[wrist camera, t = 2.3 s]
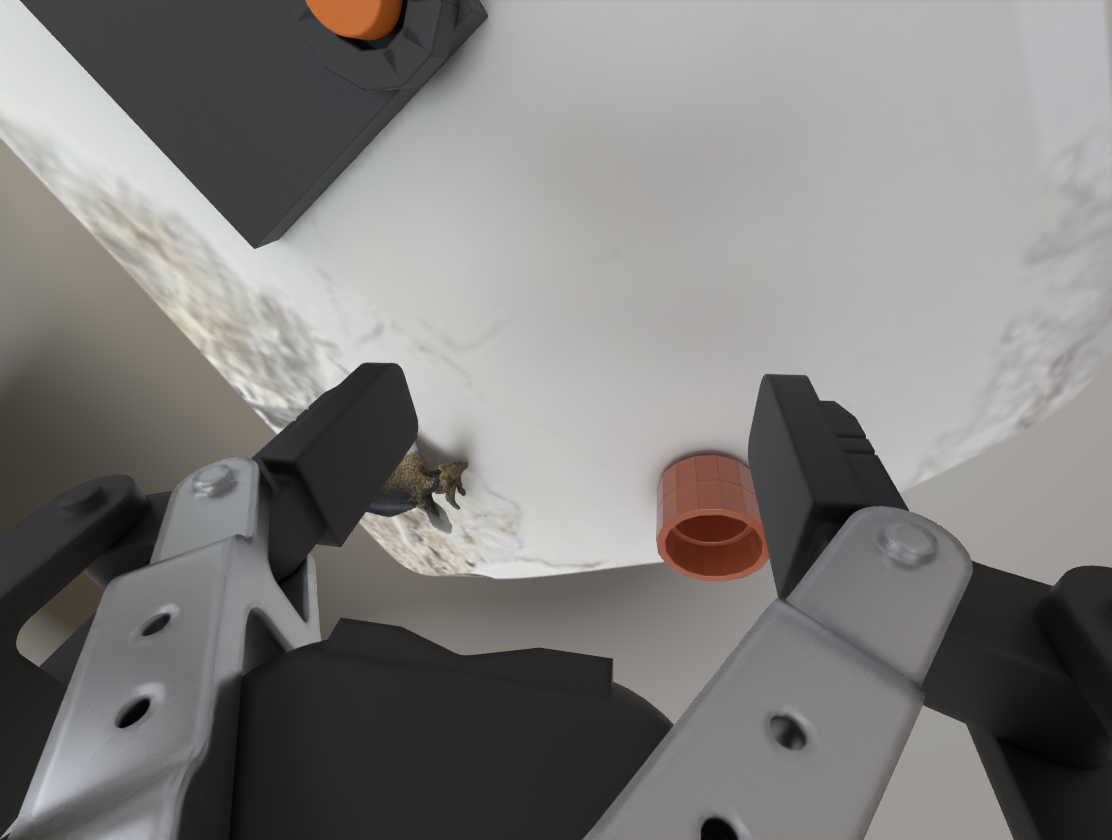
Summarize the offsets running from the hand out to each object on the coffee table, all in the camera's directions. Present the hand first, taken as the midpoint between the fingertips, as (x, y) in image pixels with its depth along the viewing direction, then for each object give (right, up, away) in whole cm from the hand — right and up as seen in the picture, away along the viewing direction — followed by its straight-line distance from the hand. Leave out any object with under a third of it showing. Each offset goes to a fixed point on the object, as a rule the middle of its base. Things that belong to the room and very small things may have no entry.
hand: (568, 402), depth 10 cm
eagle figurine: (-11, -3, +23) cm, 26 cm away
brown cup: (+10, -5, +20) cm, 22 cm away
